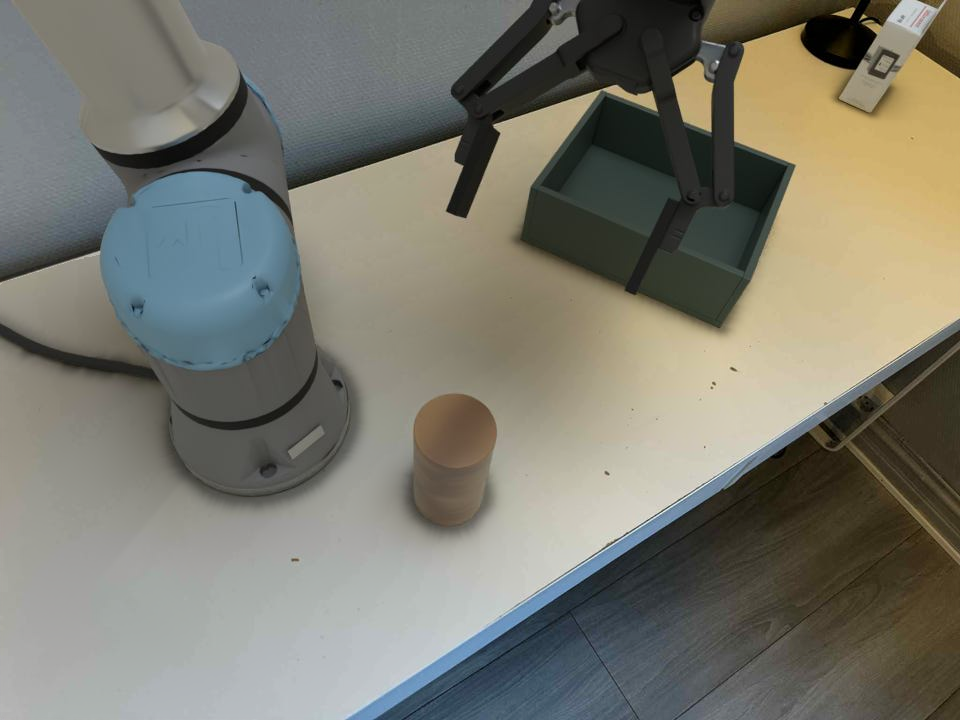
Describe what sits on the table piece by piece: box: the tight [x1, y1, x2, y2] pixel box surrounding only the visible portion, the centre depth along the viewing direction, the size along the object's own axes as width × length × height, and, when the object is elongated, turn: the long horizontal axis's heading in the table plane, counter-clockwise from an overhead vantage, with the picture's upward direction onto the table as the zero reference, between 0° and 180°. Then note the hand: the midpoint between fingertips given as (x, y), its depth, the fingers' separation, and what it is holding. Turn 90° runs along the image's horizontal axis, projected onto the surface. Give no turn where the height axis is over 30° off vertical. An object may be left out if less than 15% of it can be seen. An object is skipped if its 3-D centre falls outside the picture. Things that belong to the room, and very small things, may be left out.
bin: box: [520, 89, 797, 328], centre depth 74 cm, size 24×20×8 cm
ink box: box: [838, 0, 948, 113], centre depth 90 cm, size 8×5×15 cm, turn 143°
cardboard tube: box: [412, 392, 498, 527], centre depth 52 cm, size 6×6×12 cm
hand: (540, 253), depth 46 cm, fingers open, 13 cm apart
